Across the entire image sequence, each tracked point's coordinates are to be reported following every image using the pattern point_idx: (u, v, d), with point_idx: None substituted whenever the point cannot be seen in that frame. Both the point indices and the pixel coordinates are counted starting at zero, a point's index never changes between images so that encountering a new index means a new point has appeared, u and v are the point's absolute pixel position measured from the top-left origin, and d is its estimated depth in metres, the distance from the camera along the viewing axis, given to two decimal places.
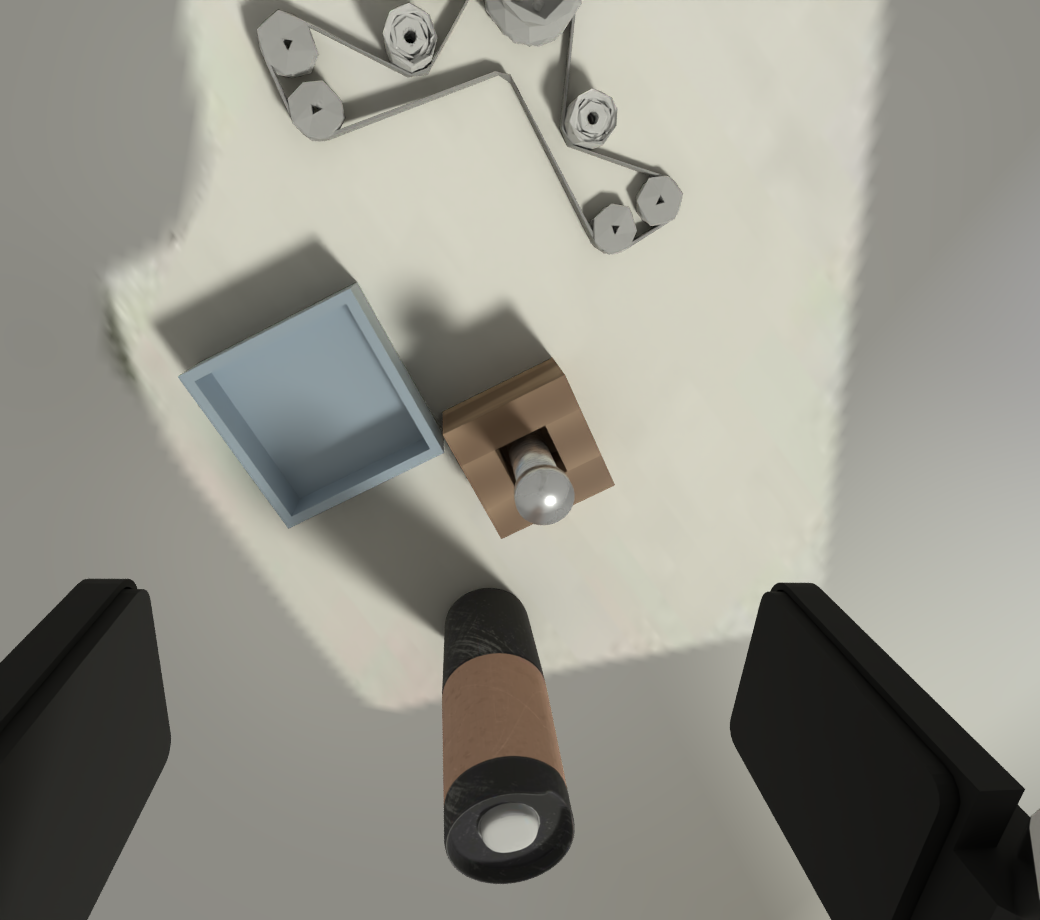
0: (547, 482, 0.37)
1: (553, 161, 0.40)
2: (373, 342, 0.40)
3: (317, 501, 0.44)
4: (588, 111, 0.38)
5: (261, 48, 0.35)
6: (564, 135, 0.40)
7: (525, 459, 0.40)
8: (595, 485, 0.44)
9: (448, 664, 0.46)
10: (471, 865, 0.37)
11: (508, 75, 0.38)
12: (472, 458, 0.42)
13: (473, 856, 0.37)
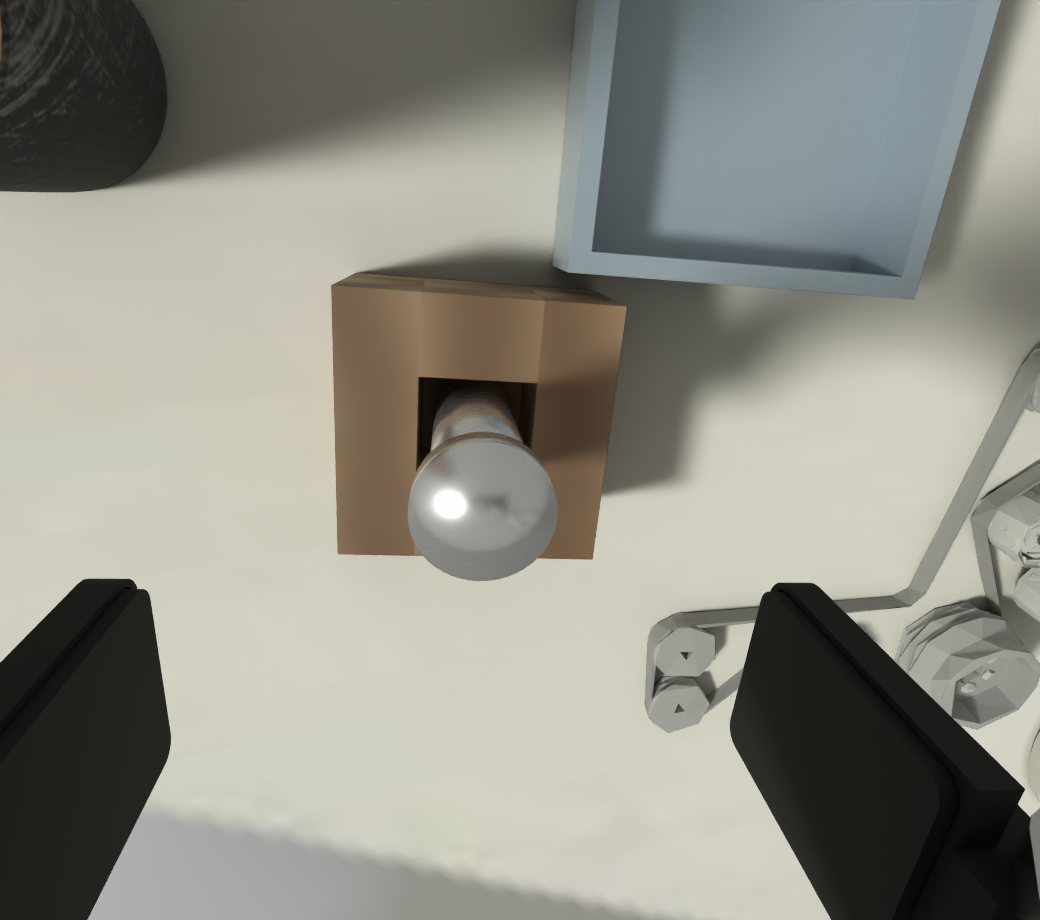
0: (518, 537, 0.15)
1: None
2: (823, 278, 0.21)
3: None
4: None
5: None
6: None
7: None
8: (356, 522, 0.21)
9: None
10: None
11: (908, 602, 0.30)
12: (547, 333, 0.20)
13: None
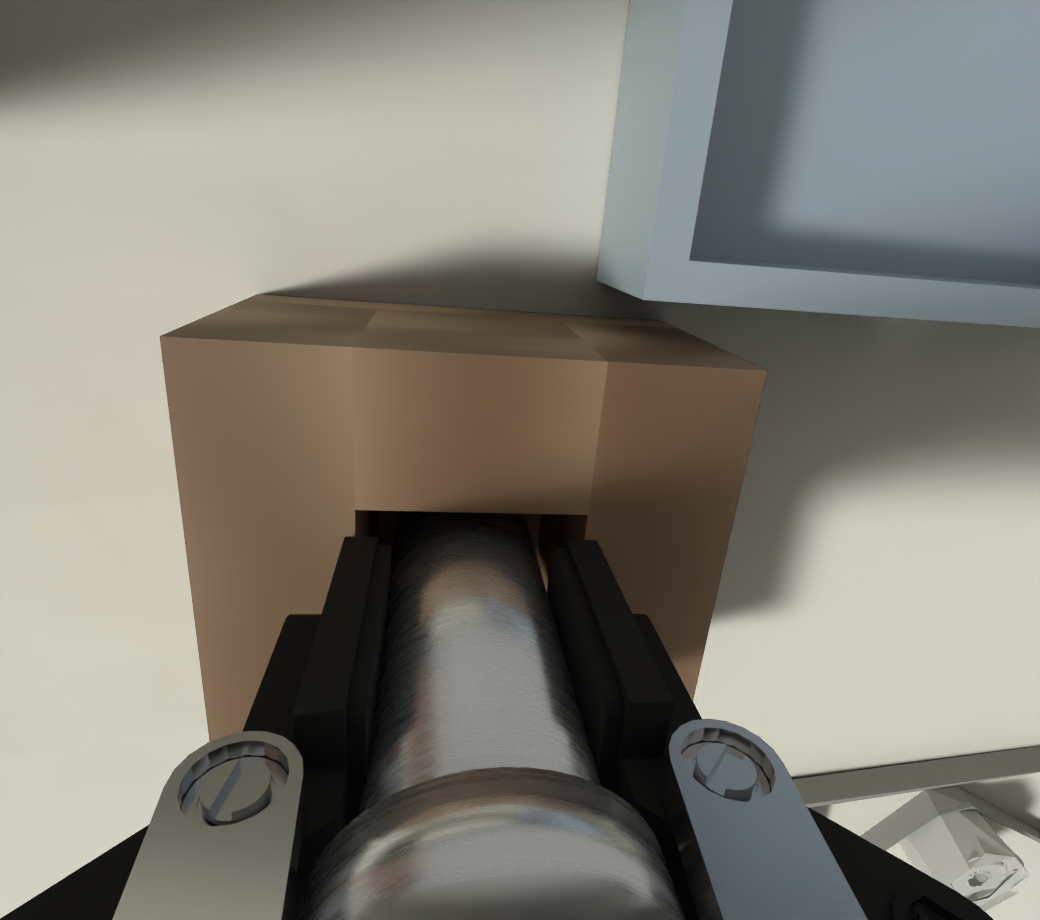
0: None
1: (943, 779, 0.20)
2: None
3: None
4: (992, 875, 0.20)
5: None
6: (956, 802, 0.21)
7: None
8: None
9: None
10: None
11: None
12: (609, 423, 0.10)
13: None
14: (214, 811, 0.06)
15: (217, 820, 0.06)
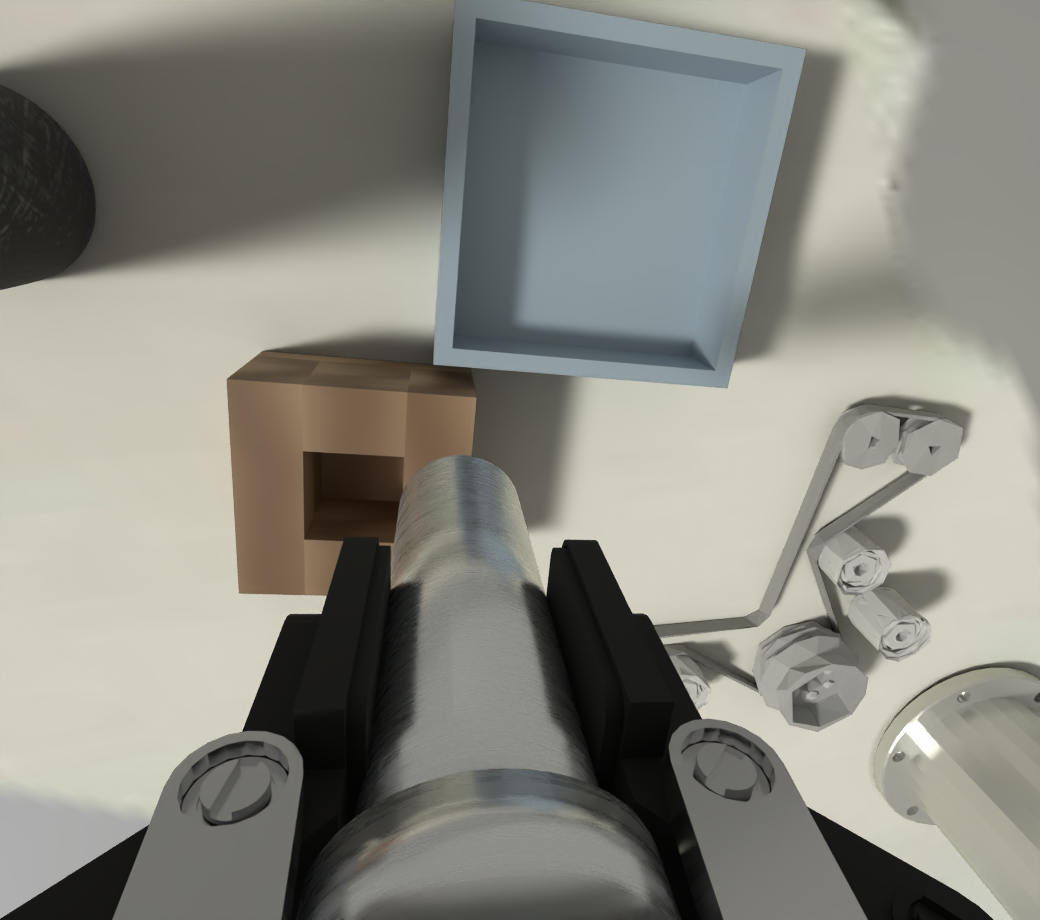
0: None
1: (662, 634, 0.34)
2: (649, 371, 0.26)
3: (470, 90, 0.22)
4: (690, 691, 0.34)
5: (948, 422, 0.31)
6: (676, 651, 0.35)
7: None
8: (254, 567, 0.25)
9: None
10: None
11: (757, 623, 0.35)
12: (410, 417, 0.24)
13: None
14: (214, 811, 0.06)
15: (217, 821, 0.06)
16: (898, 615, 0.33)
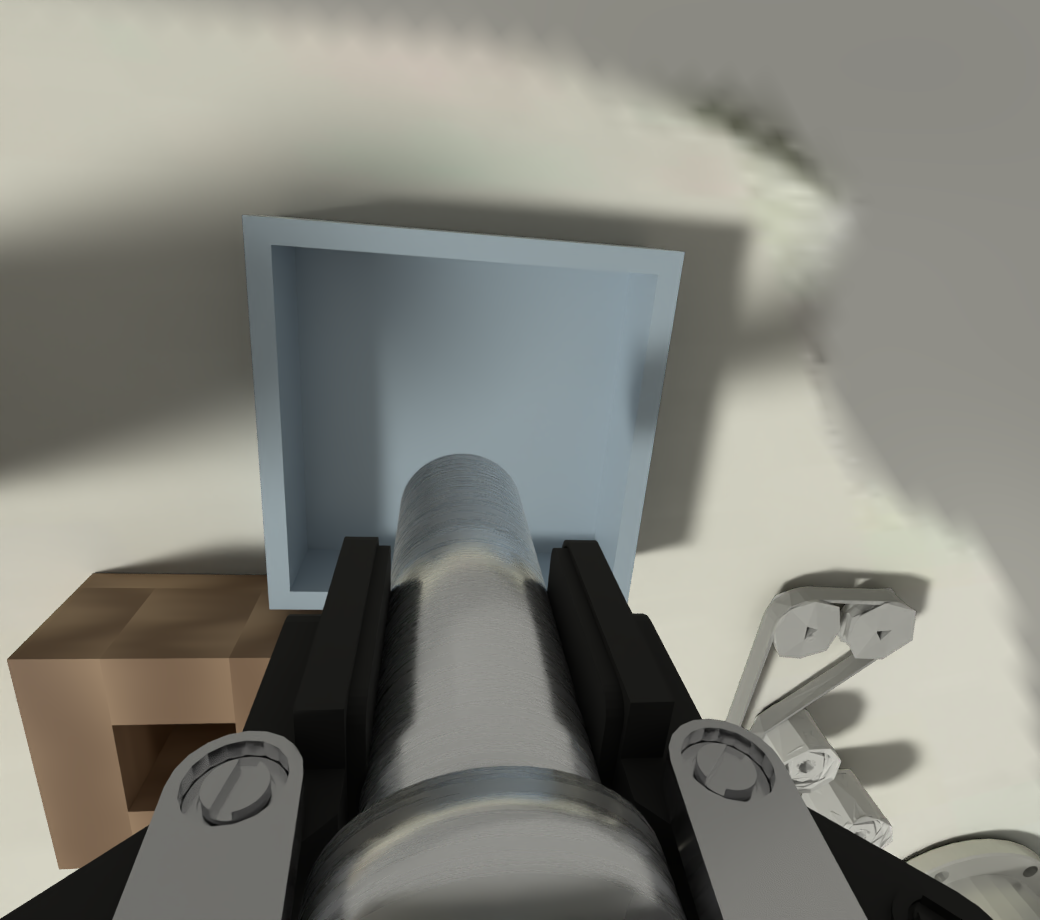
0: None
1: None
2: None
3: (278, 318, 0.18)
4: None
5: (898, 605, 0.26)
6: None
7: None
8: (73, 842, 0.22)
9: None
10: None
11: None
12: (236, 683, 0.20)
13: None
14: (214, 811, 0.06)
15: (217, 821, 0.06)
16: (854, 815, 0.28)
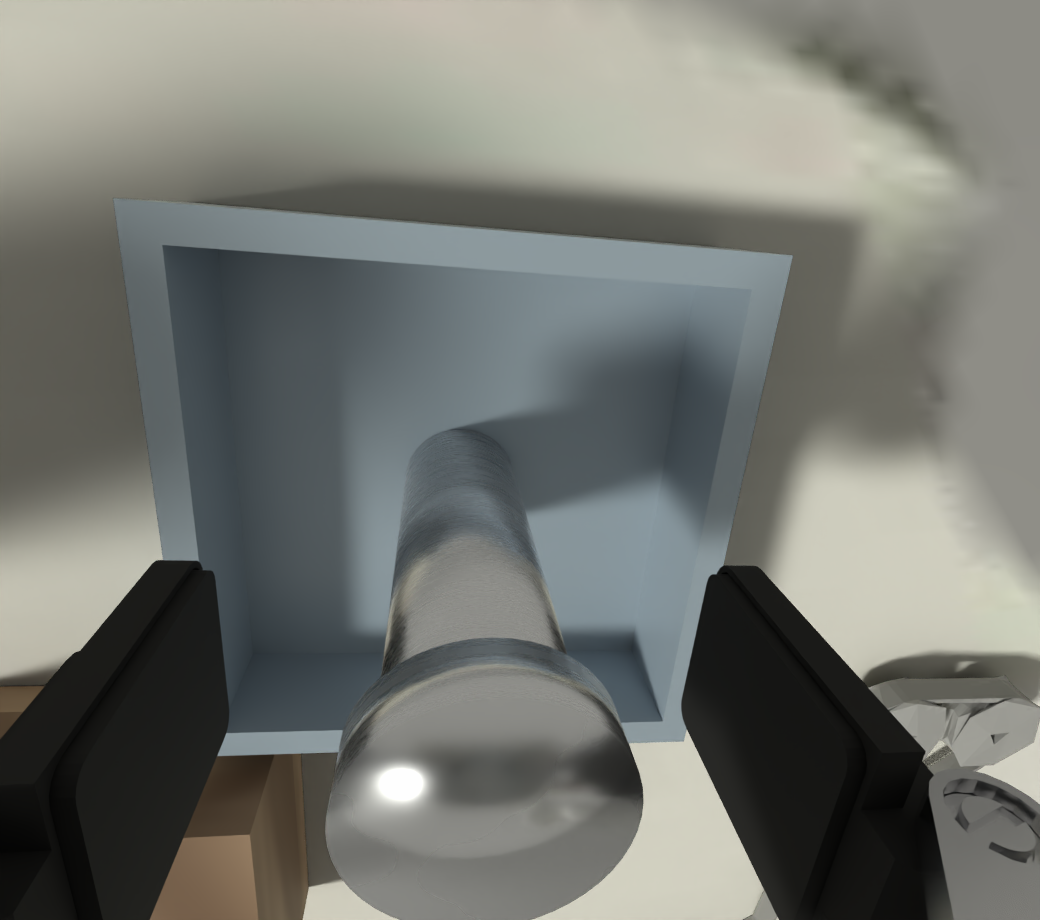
0: (561, 854, 0.07)
1: None
2: None
3: (183, 355, 0.12)
4: None
5: (1020, 702, 0.20)
6: None
7: None
8: None
9: None
10: None
11: None
12: None
13: None
14: None
15: None
16: None
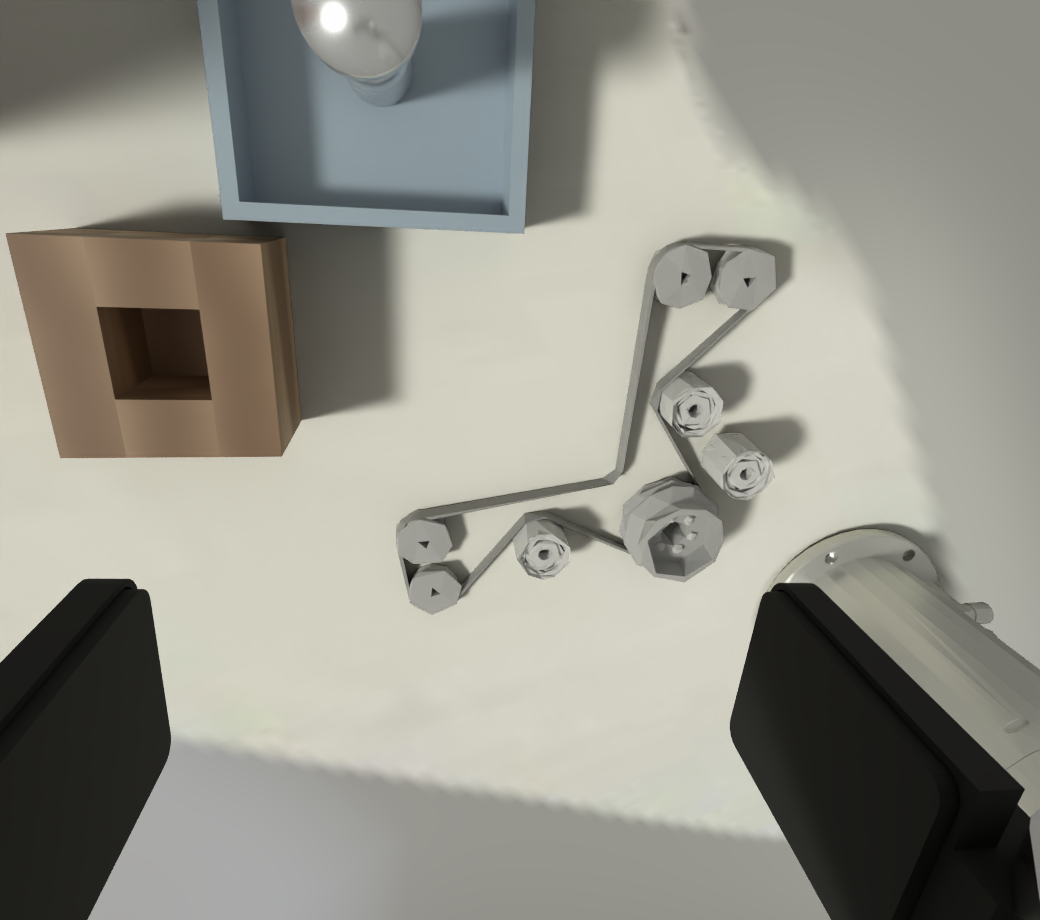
0: (390, 28, 0.18)
1: (518, 499, 0.35)
2: (442, 218, 0.27)
3: None
4: (552, 552, 0.35)
5: (758, 251, 0.31)
6: (537, 516, 0.36)
7: None
8: (70, 430, 0.26)
9: None
10: None
11: (612, 481, 0.36)
12: (197, 267, 0.25)
13: None
14: None
15: None
16: (738, 453, 0.33)
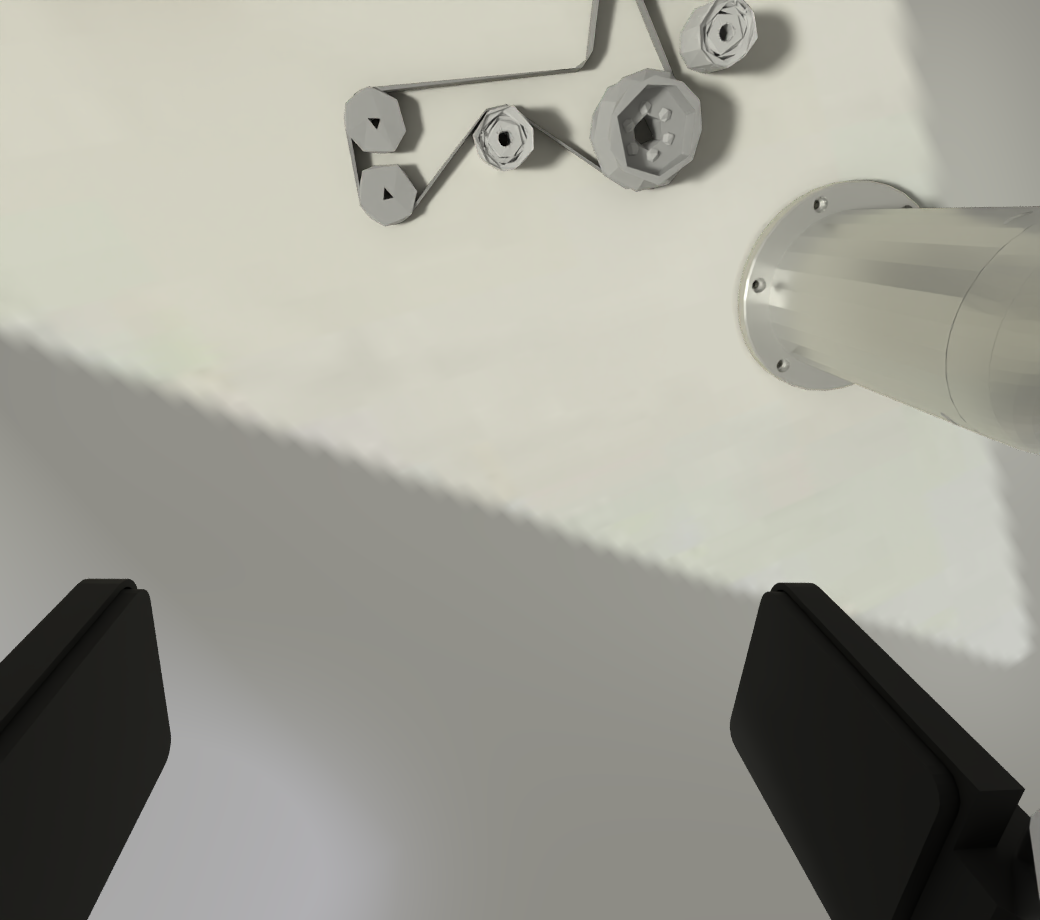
0: None
1: None
2: None
3: None
4: (513, 136, 0.32)
5: None
6: (499, 106, 0.33)
7: None
8: None
9: None
10: None
11: (582, 66, 0.33)
12: None
13: None
14: None
15: None
16: (718, 3, 0.30)
